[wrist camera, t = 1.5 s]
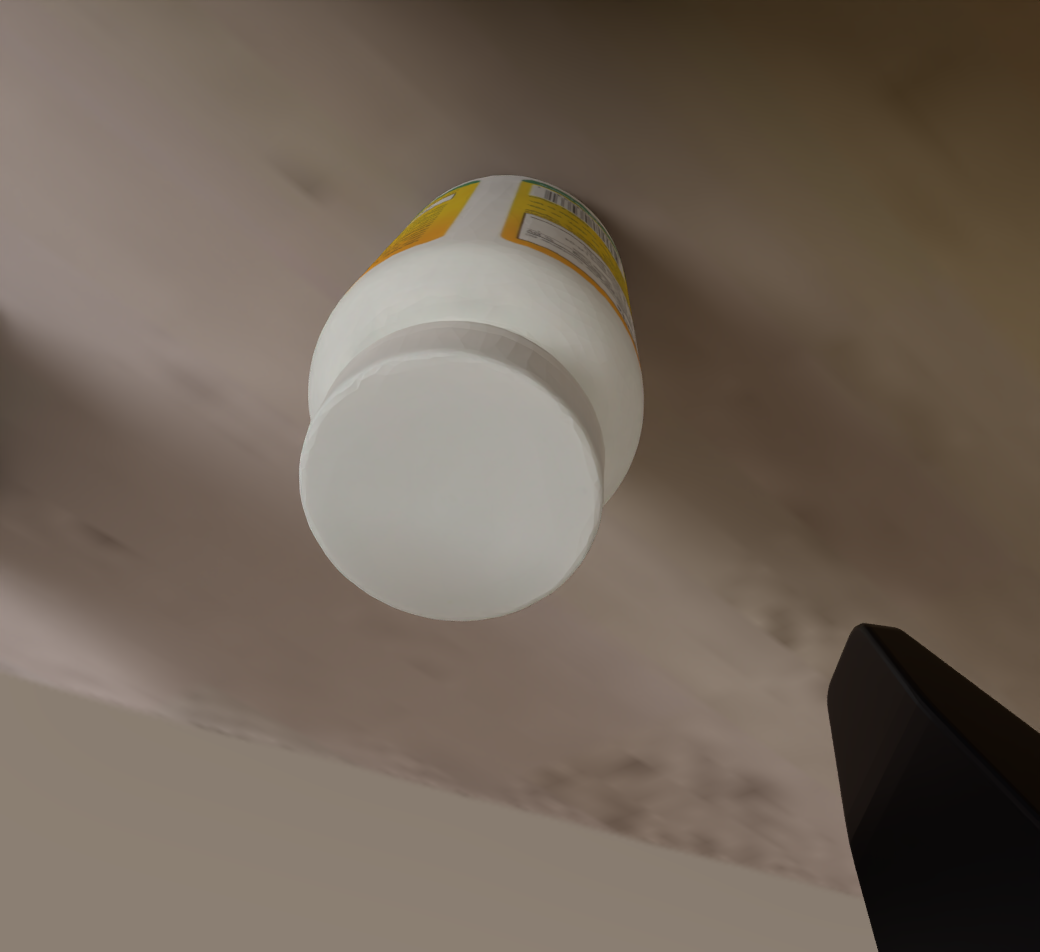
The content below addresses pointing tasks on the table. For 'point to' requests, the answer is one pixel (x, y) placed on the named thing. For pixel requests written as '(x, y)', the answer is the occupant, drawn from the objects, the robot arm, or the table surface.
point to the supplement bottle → (474, 404)
